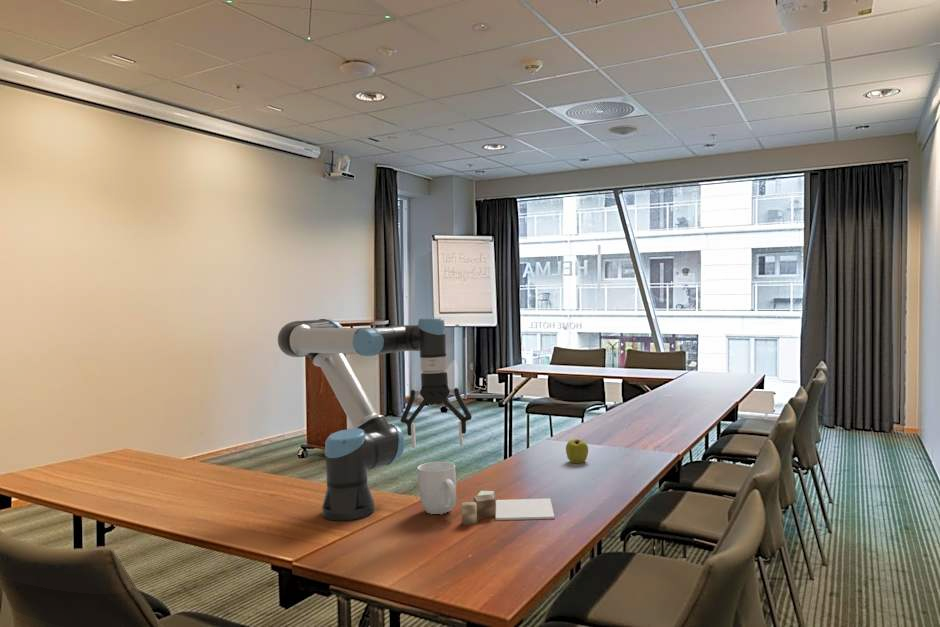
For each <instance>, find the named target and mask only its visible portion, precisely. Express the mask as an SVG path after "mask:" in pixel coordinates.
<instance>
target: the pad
mask: <svg viewBox="0 0 940 627" xmlns="http://www.w3.org/2000/svg"><path fill="white" fill-rule="evenodd" d="M552 504H553V503H552V500H551V498H549V497H548V498H520V499H519V498H518V499H516V498H515V499H512V498H511V499H495V512H496V517H495V521H513V520H515V521H518V520H519V521H520V520H522V521H523V520H551V519H553V520H554V519H555V513H554V510H553V505H552Z"/></svg>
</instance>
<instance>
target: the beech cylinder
mask: <svg viewBox="0 0 940 627" xmlns="http://www.w3.org/2000/svg"><path fill="white" fill-rule="evenodd" d="M461 518H462V519H461V520H462V522H461V523H462V524H463V525H466V526H471V525H472V526H473V525H475V524H477V523H478V518H477V506H476V503H475V502H474V501H465V502H462V503H461Z"/></svg>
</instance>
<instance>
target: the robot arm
mask: <svg viewBox="0 0 940 627" xmlns="http://www.w3.org/2000/svg"><path fill="white" fill-rule="evenodd" d="M417 323H418V324H417V325H416V324H415V325H411V324H409V325H408V324H406V325H404V324H398V325H392V326H386V327H385V326H382V327H343V326H342V325H341V324H340V323H339V322H338V321H336V320H333V319H331V318H330V319H327V318H319V319H313V320H312V319H311V320H309V319H308V320H295V321H291V322H288V323H286V324H285V325H284V326H282V328H281V329H280V330H279V332H278V335H277V345H278V347H279V349H280V350H281V352H282V353H283V354H285V355H287V356H289V357H291V358H303V357H309V358H310V360H311V362H312V364H313V365H314V366H315V367H320V369H321V371H322V373H323V375H324V376H325V378H326V380H327V382H328V384H329V386H330V387H331V390H332V391H333V393H334V394H335V397H336V399H337V401H338V403H339V404H340V406H341V408H342V410H343V411H344V413H345V415H346V417H347V419H348V421H349V423H350V424H351V426H352V428H348V429H342V430H338V431H336V432H333V433H331V434H330V435H329V436H327V438H326V439H325V442H324V445H325V448H324V455H325V469H326V470H325V471H326V491H325V495H324V498H323V503H322V505H321V516H322V517H323V518H324V519H325V520H330V521H336V522H337V521H339V522H340V521H353V520H358V519H362V518H365V517H368V516H370V515H372V514H373V513H374V512H375V510H376V508H375V506H376V505H375V500H374V497H373V495H372V492H371V489H370V487H369V483H368V471H370V470H375V469H377V468H380V467H383V466H388V465H389V466H390V465H391V464H392V463H394V462H397V461H399V459H400V458H401V457H402V455H403V454H404V450H405V443H406V441H405V440H406V439H405V436H404V434H403V431H402V429H401V428H400V426H398V425H396V424H393V423H390V424H389V422H388V420H387V418H386V417H385V415H383V414H379V413H378V412H377V411H376V409H375V407H374V404H372V402H371V400H370V398H369V396H368V395H367V392H366V391H365V389H364V387H363V386H362V384H361V382H360V380H359V378H358V376H357V375H356V373H355V371H354V369H353V367H352V366H351V364H350V362H349V361H348V359H347V357H346V354H347V355H348V354H349V355H359V356H362V357H372V356H376V355H377V356H378V355H383V354H385V355H386V354H393V353H400V352H417V351H418V352H419V360H420V363H419V364H420V365H419V366H420V371H421V374H420V380H421V381H420V382H421V384H420V385H421V388H420V389H415V388H413V389H411V391H410V396H409V400H408V402H407V404H406V407H405V409H404V411H403V413H402V416H401V418H400V423H402V424H403V423H404V424H406V426H407V435H408V436H410V438H411V448H416V446H417V443H416V442H417V441H416V423H415V422H414V420H415V419H416V417H417V416H418V415H419V414H420V412H421V411H423V410H422V409H423V408H424V407H425V406H426V404H428V405H429V406H432V405H437V406H439V405H441V404H444V405H445V406H446V407H447V408H448V409H449V410H450V411H451V412H452V414H454V416H455V417H456V418H457V419H458V420H459V421H458V435H459V436H458V439H459V446H460V447H463V446H464V440H463V439H464V438H463V434H466V432H467V422H468V421H471V420H472V417H473V416H472V414H471V413H472V412H470V410H469V408H468V407H467V405H466V403H465V401H464V400H463V398H462V395H461V393H460V388H459V387H458V386H456V387H455V388H449V385H448V384H449V382H448V372H447V369H448V366H447V365H448V361H447V360H448V359H447V357H448V356H447V353H446V351H447V348H446V347H447V346H446V345H447V343H446V342H447V341H446V339H447V338H446V335H447V334H446V333H447V331H446V327H445V326H446V324H445V320H444V318H442V317H422V318H420V319H418V322H417ZM449 394H451V395H452V396H453V397H455V399H456V401H457V403H458V406H460V408H461V410H462V411H463V413H464V415H463V414H462V412H460V410H459V409H458V408H457V407H456V406H455V405H454V404H453V403H452V401H451V400H450V399H449V398H448V396H449ZM419 395H420V396H421V397H422V399H423V400H422V401H421V402H420V404H419V405H418V407H417V408H416V409H415V410H414V412H413V413H412V415H410V417H409V418H408V416H409V413H410V411H411V409H412V407H413V404H414V402H415V400H416V398H418V397H419Z"/></svg>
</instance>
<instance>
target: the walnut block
mask: <svg viewBox="0 0 940 627" xmlns="http://www.w3.org/2000/svg"><path fill="white" fill-rule="evenodd" d="M473 502H475V503H476V506H477V520H481V519H492V518H496V498H495V499H494V498H493V496H492V495H491V494H489V495H479V496H477V495H474V496H473Z"/></svg>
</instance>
